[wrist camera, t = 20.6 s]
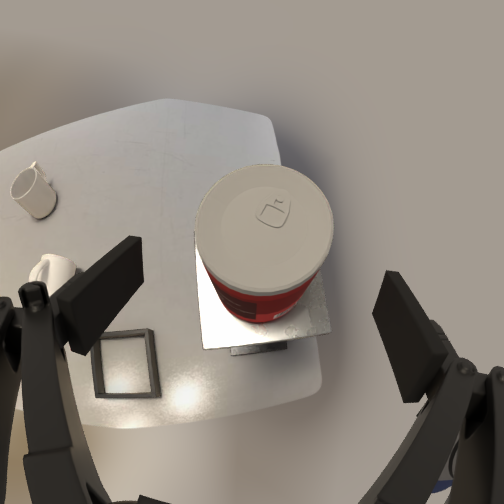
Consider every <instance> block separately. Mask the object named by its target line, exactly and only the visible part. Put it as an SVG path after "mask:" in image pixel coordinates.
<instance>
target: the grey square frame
mask: <svg viewBox="0 0 504 504" xmlns="http://www.w3.org/2000/svg"><path fill="white" fill-rule="evenodd" d="M143 335H145V344H146V354H147V362H148V371H149V378H150V386H151V392H147V393H105V389H104V381H103V372H102V362H101V351H100V339H107V338H120V337H132V336H143ZM90 352H91V364H92V374H93V383H94V391H95V398H151V397H159V396H161V393H160V385H159V378H158V371H157V363H156V355H155V346H154V336H153V330H150V329H148V328H147V329H137V330H126V331H114V332H103V334H102V335H101V336H100V338H99V339H98V340H97V341H96V343H95V344H94V345H93V347H92V348H91V349H90Z"/></svg>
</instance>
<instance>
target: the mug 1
mask: <svg viewBox="0 0 504 504" xmlns="http://www.w3.org/2000/svg"><path fill="white" fill-rule="evenodd" d="M34 167H35V168H36V169H37V170H38V172H39V173H40V174H41V175H40V174H39V173H38V172H37V171H36V170H35V169H34ZM10 194H11V197H12V198H13V199H14V200H15V201H16V202H17V203H18V204H19V205H20V206H21V207H23V208H24V209H25V210H26V211H27V212H28V213H29V214H30V215H32V216H33V217H34V218H37V219H40V218H43V217H45V216H47V215H48V214H50V212H51V211H52V210H53V208H54V206H55V203H56V193H55V191H54V190H53V189H52V188H51V187H50V185H49V184H48V183H47V182H46V175H45V172H44V171H43V170H42V169H41V167H40V166H39V165H38V163H37V162H33V163H32V165H31V167H30V168H27V169H25V170H23V171H22V172H21V173H20V174H19V175H18V176H17V177H16V178H15V180H14V181H13V183H12V186H11V190H10Z"/></svg>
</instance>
